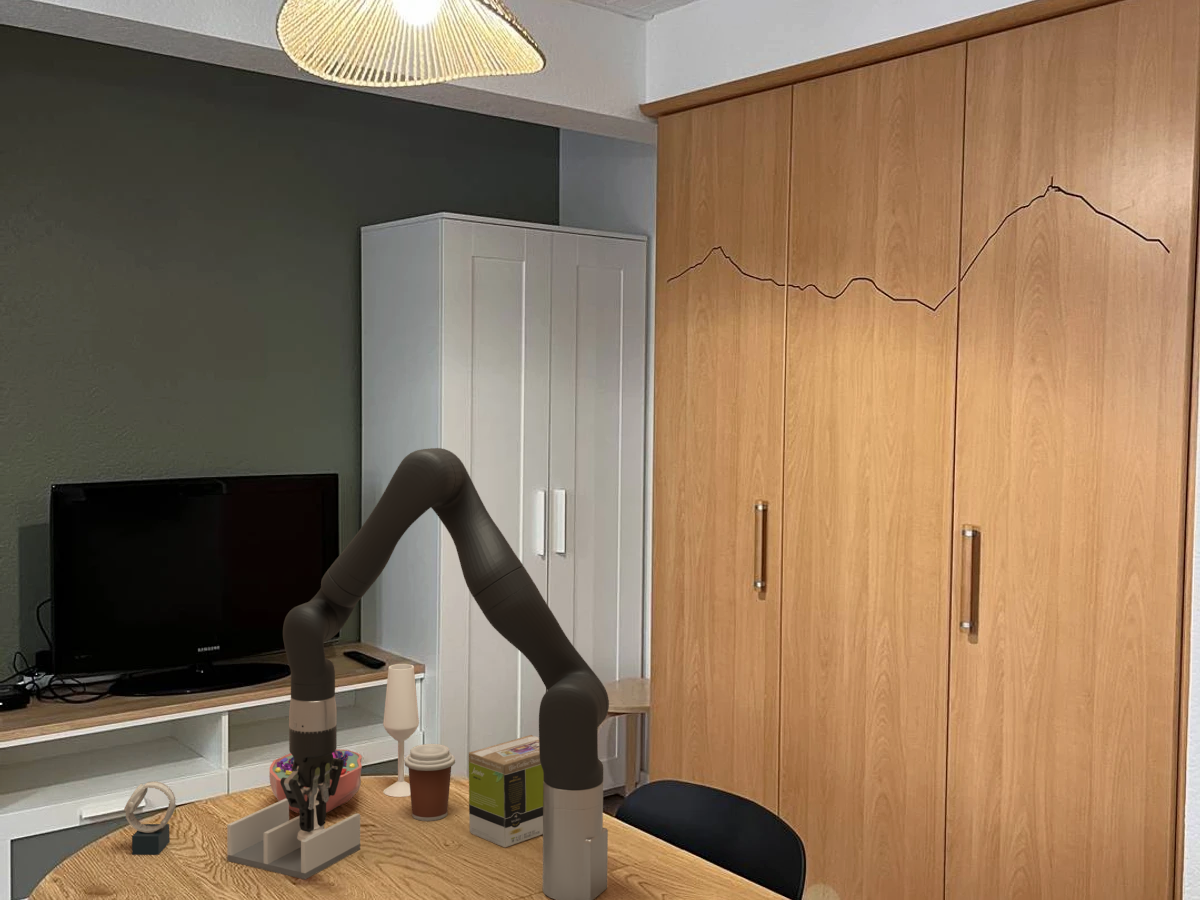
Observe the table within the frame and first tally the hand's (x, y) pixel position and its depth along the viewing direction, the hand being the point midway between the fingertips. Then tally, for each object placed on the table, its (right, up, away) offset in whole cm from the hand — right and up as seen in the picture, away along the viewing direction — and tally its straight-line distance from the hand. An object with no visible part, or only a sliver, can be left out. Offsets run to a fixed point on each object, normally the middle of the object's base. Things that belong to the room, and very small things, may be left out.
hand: (313, 827), depth 199 cm
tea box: (+33, -5, +14) cm, 36 cm away
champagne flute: (+9, -4, +34) cm, 35 cm away
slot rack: (-3, -5, +2) cm, 7 cm away
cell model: (-5, -4, +24) cm, 25 cm away
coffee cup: (+16, -4, +21) cm, 27 cm away
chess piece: (0, -2, 0) cm, 2 cm away
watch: (-28, -5, +4) cm, 29 cm away
